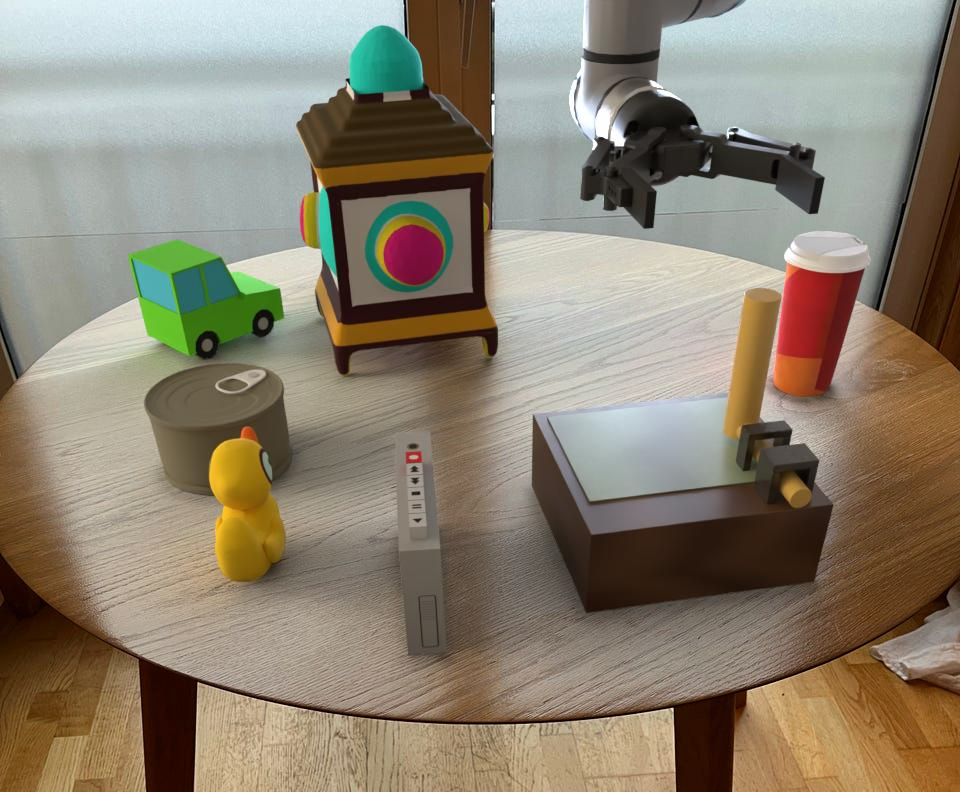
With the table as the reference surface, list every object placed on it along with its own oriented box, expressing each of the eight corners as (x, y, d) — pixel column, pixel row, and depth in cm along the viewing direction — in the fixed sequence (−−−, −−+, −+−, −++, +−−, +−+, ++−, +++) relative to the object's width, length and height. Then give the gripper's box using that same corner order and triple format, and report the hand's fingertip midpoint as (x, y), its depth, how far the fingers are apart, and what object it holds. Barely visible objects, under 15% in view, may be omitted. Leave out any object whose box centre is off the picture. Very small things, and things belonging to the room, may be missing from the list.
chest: (726, 462, 89) (744, 355, 82) (814, 581, 76) (843, 465, 69) (531, 486, 87) (533, 377, 80) (586, 613, 73) (593, 495, 67)
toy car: (295, 330, 113) (282, 240, 106) (197, 369, 106) (176, 275, 99) (241, 306, 118) (226, 220, 112) (145, 342, 111) (122, 252, 105)
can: (134, 467, 90) (115, 398, 86) (237, 417, 97) (224, 350, 93) (218, 512, 85) (202, 440, 80) (321, 455, 91) (311, 386, 87)
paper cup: (820, 363, 104) (850, 226, 95) (854, 397, 98) (889, 254, 89) (749, 370, 103) (772, 232, 94) (778, 405, 97) (806, 261, 88)
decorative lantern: (514, 363, 105) (515, 37, 86) (328, 387, 102) (285, 53, 82) (469, 293, 120) (461, 1, 101) (306, 312, 117) (265, 14, 97)
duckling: (233, 520, 84) (210, 413, 77) (297, 518, 84) (279, 411, 77) (208, 604, 75) (179, 491, 68) (279, 602, 75) (257, 489, 68)
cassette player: (403, 529, 82) (393, 421, 75) (435, 527, 82) (429, 419, 76) (408, 654, 70) (397, 538, 64) (446, 652, 70) (439, 536, 64)
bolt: (748, 423, 79) (772, 286, 72) (816, 506, 70) (851, 358, 63) (717, 427, 79) (738, 289, 72) (781, 510, 70) (812, 362, 63)
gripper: (766, 165, 97) (872, 238, 81) (517, 186, 93) (576, 266, 78) (780, 79, 92) (896, 138, 76) (517, 97, 88) (581, 163, 73)
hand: (734, 203), depth 77 cm, fingers open, 13 cm apart
